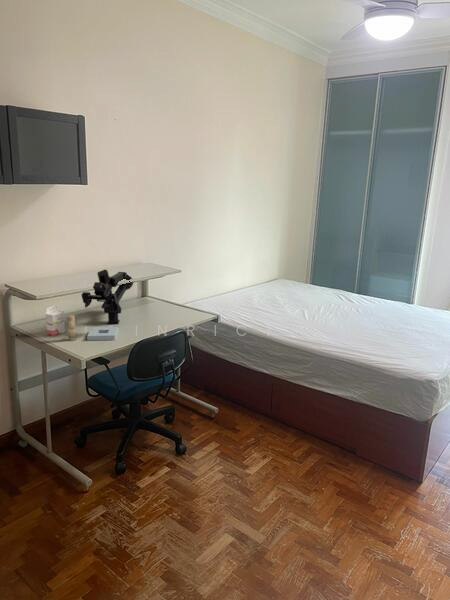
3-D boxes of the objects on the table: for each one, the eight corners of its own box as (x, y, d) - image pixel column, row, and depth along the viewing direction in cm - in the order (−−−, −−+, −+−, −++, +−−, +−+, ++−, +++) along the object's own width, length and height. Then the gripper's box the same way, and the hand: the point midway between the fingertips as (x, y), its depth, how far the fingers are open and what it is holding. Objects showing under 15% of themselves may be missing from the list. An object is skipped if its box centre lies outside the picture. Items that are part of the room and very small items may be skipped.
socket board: (92, 332, 244) (92, 327, 243) (118, 331, 245) (118, 327, 245) (87, 340, 231) (87, 335, 230) (114, 340, 232) (114, 335, 231)
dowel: (69, 338, 233) (68, 315, 230) (76, 338, 234) (75, 315, 230) (68, 340, 230) (66, 317, 227) (75, 340, 230) (73, 317, 227)
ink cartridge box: (54, 336, 236) (51, 309, 233) (46, 334, 238) (44, 308, 235) (65, 331, 244) (63, 305, 240) (58, 330, 246) (56, 304, 242)
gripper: (85, 278, 242) (73, 293, 230) (118, 279, 240) (107, 295, 227) (89, 294, 249) (78, 311, 236) (121, 296, 246) (111, 313, 233)
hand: (93, 307), depth 233 cm, fingers open, 9 cm apart
